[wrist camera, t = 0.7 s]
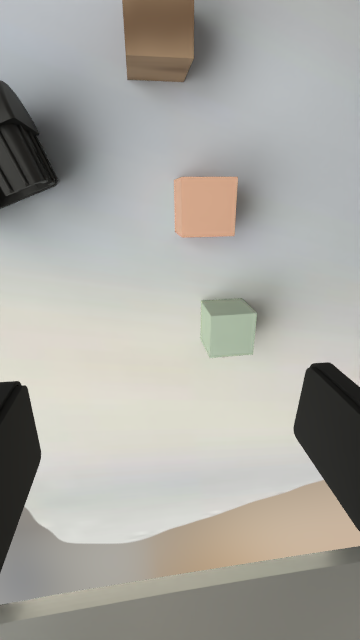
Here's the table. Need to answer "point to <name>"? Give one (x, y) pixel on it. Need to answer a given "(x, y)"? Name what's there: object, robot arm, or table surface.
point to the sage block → (227, 327)
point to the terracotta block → (205, 206)
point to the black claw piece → (20, 152)
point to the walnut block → (158, 39)
